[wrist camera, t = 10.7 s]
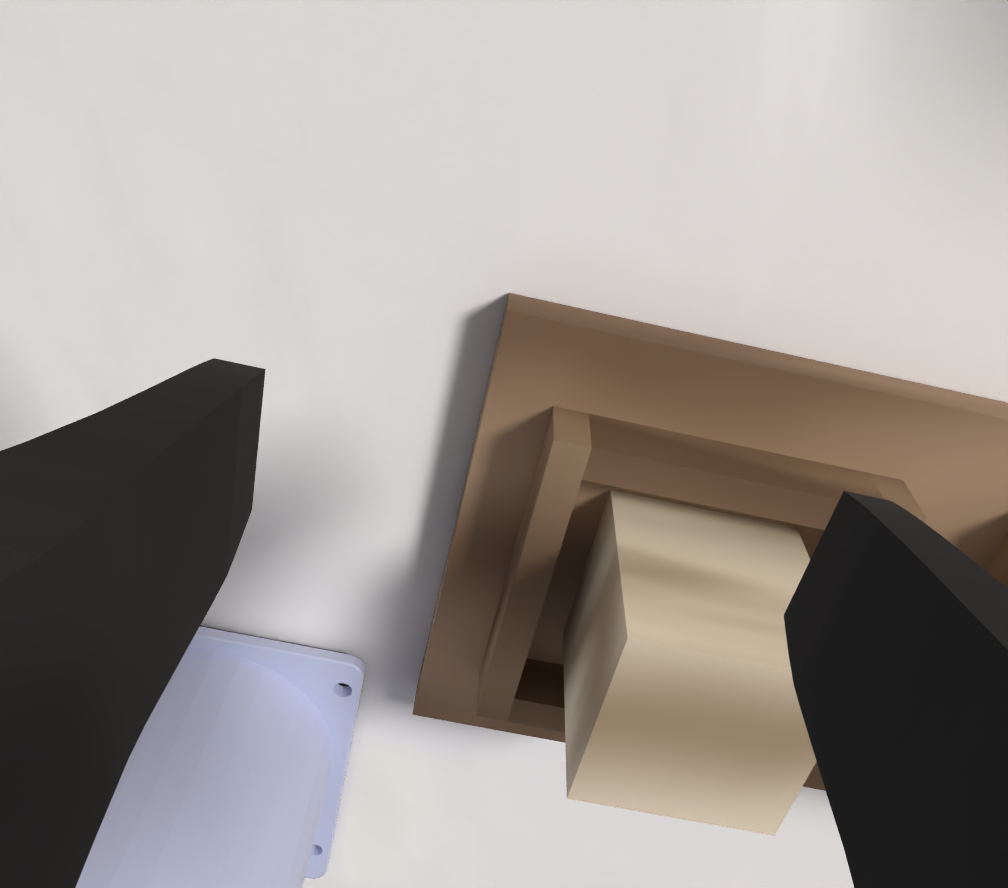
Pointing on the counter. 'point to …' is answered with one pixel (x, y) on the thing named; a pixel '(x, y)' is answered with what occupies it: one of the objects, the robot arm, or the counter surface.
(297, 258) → the counter surface
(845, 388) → the puzzle board
